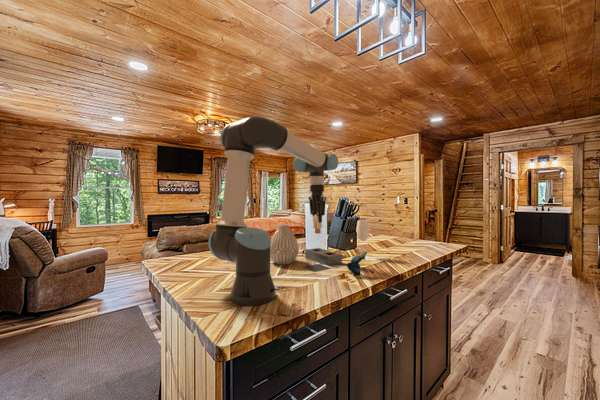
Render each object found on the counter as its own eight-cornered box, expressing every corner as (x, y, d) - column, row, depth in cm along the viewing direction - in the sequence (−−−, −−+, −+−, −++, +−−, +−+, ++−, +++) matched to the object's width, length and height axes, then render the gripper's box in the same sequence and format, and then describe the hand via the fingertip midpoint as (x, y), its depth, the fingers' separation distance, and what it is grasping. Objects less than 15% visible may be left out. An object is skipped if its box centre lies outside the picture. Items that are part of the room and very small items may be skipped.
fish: (370, 274, 114) (369, 252, 113) (350, 277, 110) (350, 254, 110) (364, 272, 118) (364, 250, 117) (344, 274, 114) (344, 252, 114)
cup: (354, 256, 149) (354, 220, 149) (364, 255, 151) (364, 219, 151) (361, 258, 142) (361, 221, 142) (372, 257, 145) (372, 220, 144)
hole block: (342, 264, 131) (342, 254, 131) (328, 266, 127) (328, 256, 126) (318, 256, 148) (318, 247, 148) (305, 258, 143) (305, 249, 143)
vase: (280, 269, 123) (280, 227, 123) (262, 262, 135) (261, 224, 135) (305, 263, 134) (304, 224, 134) (285, 257, 146) (285, 222, 146)
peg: (321, 233, 139) (321, 214, 138) (317, 233, 137) (316, 214, 137) (318, 232, 141) (318, 214, 141) (313, 232, 140) (313, 214, 139)
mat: (331, 269, 122) (331, 268, 122) (314, 272, 117) (314, 271, 117) (318, 264, 131) (318, 263, 131) (302, 267, 125) (302, 266, 125)
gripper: (331, 183, 134) (332, 229, 135) (314, 184, 147) (314, 226, 148) (319, 183, 130) (320, 230, 131) (303, 184, 143) (303, 227, 144)
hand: (317, 228), depth 139 cm, fingers closed on peg, 2 cm apart
